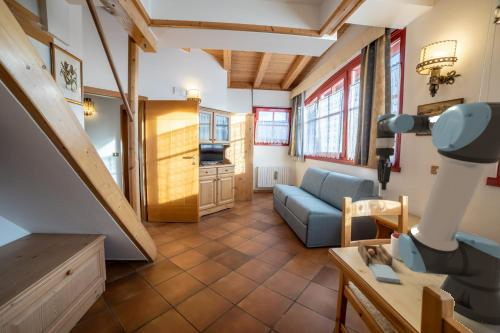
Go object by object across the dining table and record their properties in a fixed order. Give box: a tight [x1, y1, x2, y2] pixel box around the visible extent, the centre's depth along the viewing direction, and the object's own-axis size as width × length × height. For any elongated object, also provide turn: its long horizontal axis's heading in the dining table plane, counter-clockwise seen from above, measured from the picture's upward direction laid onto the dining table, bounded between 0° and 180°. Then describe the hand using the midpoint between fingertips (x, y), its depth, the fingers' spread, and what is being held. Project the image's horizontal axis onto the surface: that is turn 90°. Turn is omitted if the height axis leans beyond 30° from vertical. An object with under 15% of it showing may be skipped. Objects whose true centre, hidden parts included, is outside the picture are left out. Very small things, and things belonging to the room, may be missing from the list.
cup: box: [389, 232, 403, 262], centre depth 99 cm, size 10×10×10 cm
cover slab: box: [368, 263, 401, 284], centre depth 86 cm, size 10×8×2 cm
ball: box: [368, 249, 375, 255], centre depth 101 cm, size 3×3×3 cm
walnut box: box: [357, 241, 394, 269], centre depth 97 cm, size 14×10×5 cm
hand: (382, 196), depth 102 cm, fingers closed
